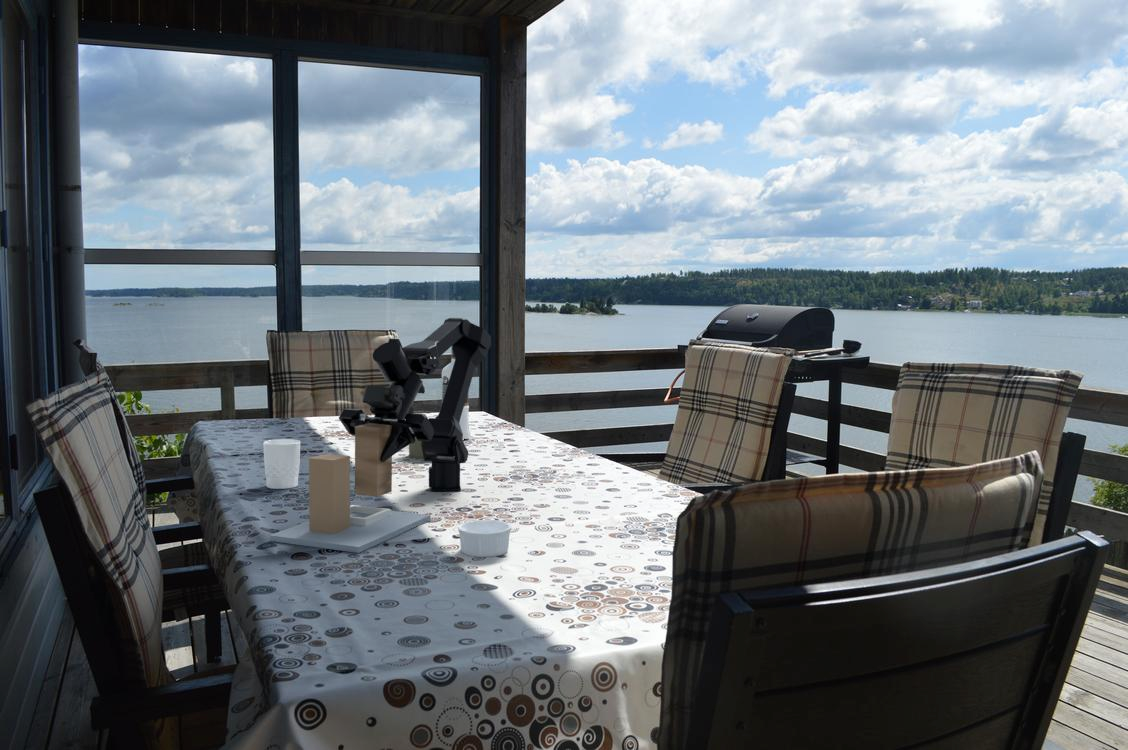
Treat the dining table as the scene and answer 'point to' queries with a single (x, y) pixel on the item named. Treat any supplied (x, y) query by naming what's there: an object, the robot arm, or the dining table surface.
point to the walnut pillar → (372, 460)
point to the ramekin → (484, 538)
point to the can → (416, 450)
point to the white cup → (281, 463)
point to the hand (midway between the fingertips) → (369, 459)
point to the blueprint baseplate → (353, 533)
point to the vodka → (464, 417)
